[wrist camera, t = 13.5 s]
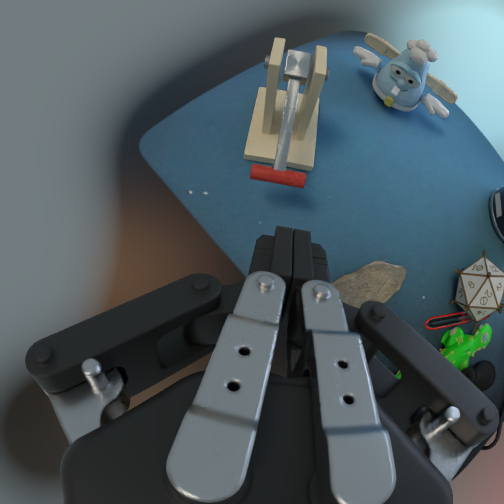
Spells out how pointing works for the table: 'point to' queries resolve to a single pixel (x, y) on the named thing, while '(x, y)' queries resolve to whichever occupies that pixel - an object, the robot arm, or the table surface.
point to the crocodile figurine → (463, 345)
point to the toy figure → (405, 75)
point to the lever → (287, 124)
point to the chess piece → (481, 374)
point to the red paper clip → (462, 319)
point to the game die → (480, 289)
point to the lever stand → (271, 112)
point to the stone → (370, 283)
